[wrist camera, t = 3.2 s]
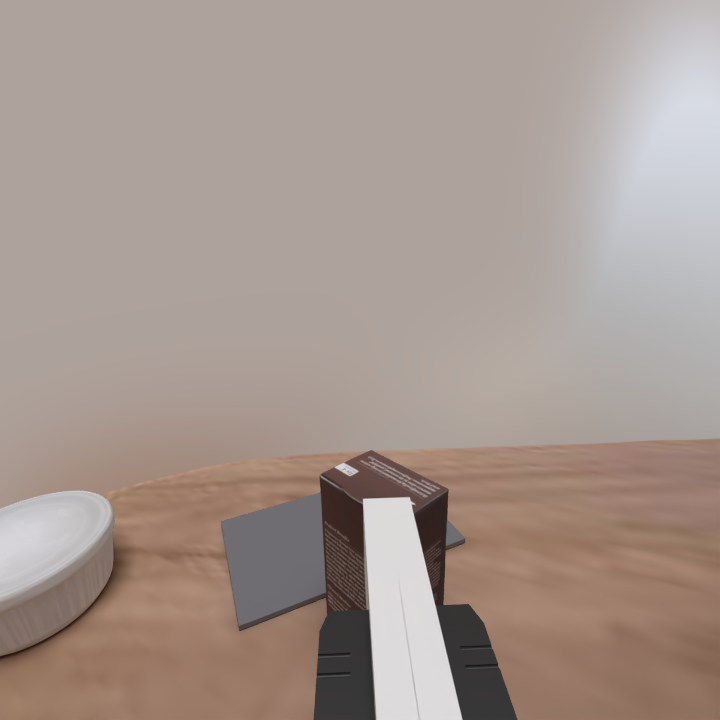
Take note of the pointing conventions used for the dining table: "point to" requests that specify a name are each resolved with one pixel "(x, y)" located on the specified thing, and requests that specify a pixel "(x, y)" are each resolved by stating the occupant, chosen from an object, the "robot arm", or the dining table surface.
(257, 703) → the dining table surface
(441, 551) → the box
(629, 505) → the dining table surface
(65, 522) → the ramekin
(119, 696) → the dining table surface
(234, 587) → the mat
